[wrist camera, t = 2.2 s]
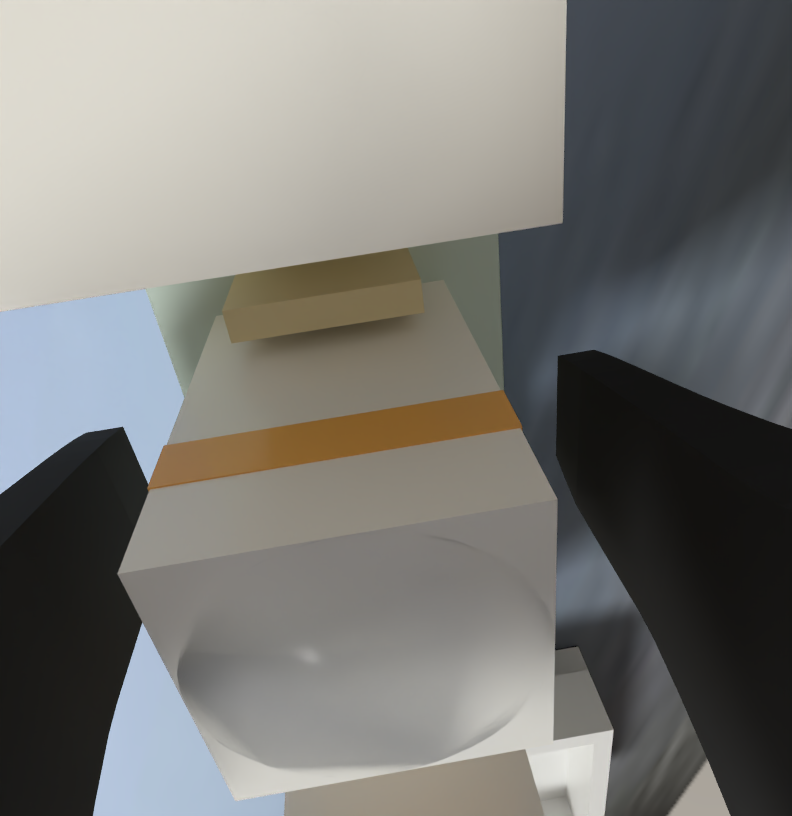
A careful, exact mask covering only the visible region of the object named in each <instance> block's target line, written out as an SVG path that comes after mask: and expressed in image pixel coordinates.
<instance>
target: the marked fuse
mask: <svg viewBox="0 0 792 816" xmlns="http://www.w3.org/2000/svg"><path fill="white" fill-rule="evenodd" d="M421 284H422V293H423V302H424V312H425V313H419V314H412V315H406V316H400V317H394V318H387V319H381V320H375V321H369V322H363V323H356V324H350V325H344V326H338V327H331V328H325V329H319V330H313V331H306V332H300V333H294V334H288V335H281V336H275V337H269V338H263V339H257V340H250V341H244V342H238V343H232V344H231V340H230V337H229V334H228V330H227V327H226V324H225V320H224V317H223V315H219V316H216V317H215V320H214V323H213V325H212V328H211V330H210V333H209V336H208V338H207V341H206V344H205V346H204V349H203V351H202V354H201V357H200V359H199V362H198V364H197V367H196V370H195V372H194V375H193V378H192V380H191V383H190V385H189V388H188V391H187V393H186V396H185V398H184V401H183V404H182V406H181V409H180V412H179V414H178V417H177V419H176V422H175V425H174V427H173V430H172V432H171V435H170V438H169V440H168V443H167V445H164V446H163V449H162V451H161V454H160V457H159V459H158V462H157V464H156V467H155V469H154V472H153V475H152V477H151V480H150V482H149V485H148V487H147V489H148V491H149V493H148V495H147V498H146V500H145V503H144V506H143V508H142V511H141V514H140V516H139V519H138V521H137V524H136V527H135V529H134V532H133V534H132V537H131V540H130V542H129V545H128V547H127V550H126V553H125V555H124V558H123V561H122V563H121V566H120V568H119V571H118V576H119V578H120V580H121V582H122V584H123V586H124V588H125V589H126V591H127V593H128V595H129V597H130V599H131V601H132V603H133V605H134V607H135V609H136V611H137V613H138V614H139V616H140V618H141V620H142V622H143V624H144V626H145V628H146V630H147V632H148V634H149V636H150V638H151V639H152V641H153V643H154V645H155V647H156V649H157V651H158V653H159V655H160V657H161V659H162V661H163V663H164V664H165V666H166V668H167V670H168V672H169V674H170V676H171V678H172V680H173V682H174V684H175V686H176V688H177V689H178V691H179V693H180V695H181V697H182V699H183V701H184V703H185V705H186V707H187V709H188V711H189V713H190V715H191V716H192V718H193V720H194V722H195V724H196V726H197V728H198V730H199V732H200V734H201V736H202V738H203V740H204V741H205V743H206V745H207V747H208V749H209V751H210V753H211V755H212V757H213V759H214V761H215V763H216V765H217V766H218V768H219V770H220V772H221V774H222V776H223V778H224V780H225V782H226V784H227V786H228V788H229V790H230V791H231V793H232V795H233V797H234V799H235V801H239V800H245V799H250V798H256V797H262V796H267V795H273V794H278V793H284V792H289V791H295V790H300V789H306V788H312V787H317V786H323V785H328V784H334V783H339V782H345V781H351V780H356V779H362V778H367V777H373V776H378V775H384V774H389V773H395V772H401V771H406V770H412V769H417V768H423V767H428V766H434V765H440V764H445V763H451V762H456V761H462V760H467V759H473V758H479V757H484V756H490V755H495V754H501V753H506V752H512V751H517V750H523V749H529V748H534V747H540V746H545V745H551V744H553V727H554V671H555V615H556V559H557V503H558V499H557V497H556V495H555V493H554V492H553V490H552V488H551V486H550V484H549V482H548V480H547V478H546V476H545V474H544V472H543V470H542V468H541V467H540V465H539V463H538V461H537V459H536V457H535V455H534V453H533V451H532V449H531V447H530V445H529V443H528V442H527V440H526V438H525V436H524V434H523V432H522V425H521V423H520V421H519V419H518V417H517V415H516V413H515V411H514V410H513V408H512V406H511V404H510V402H509V400H508V398H507V396H506V394H505V392H504V391H503V390H500V388H499V386H498V384H497V382H496V380H495V378H494V376H493V374H492V372H491V370H490V368H489V367H488V365H487V363H486V361H485V359H484V357H483V355H482V353H481V351H480V349H479V347H478V345H477V343H476V341H475V340H474V338H473V336H472V334H471V332H470V330H469V328H468V326H467V324H466V322H465V320H464V318H463V316H462V315H461V313H460V311H459V309H458V307H457V305H456V303H455V301H454V299H453V297H452V295H451V293H450V291H449V290H448V288H447V286H446V284H445V282H444V280H439V281H433V282H426V283H421Z"/></svg>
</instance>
